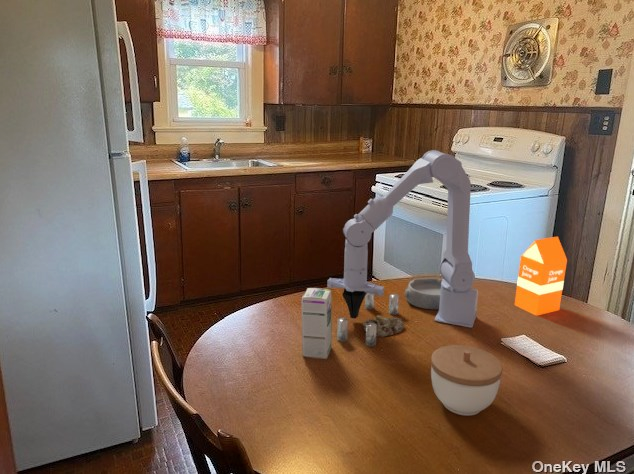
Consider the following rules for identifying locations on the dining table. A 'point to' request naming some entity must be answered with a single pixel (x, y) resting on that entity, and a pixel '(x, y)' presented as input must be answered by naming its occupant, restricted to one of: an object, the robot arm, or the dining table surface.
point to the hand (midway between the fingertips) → (354, 316)
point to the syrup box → (316, 323)
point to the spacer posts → (370, 327)
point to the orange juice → (541, 277)
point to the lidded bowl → (465, 378)
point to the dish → (424, 292)
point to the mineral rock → (386, 325)
